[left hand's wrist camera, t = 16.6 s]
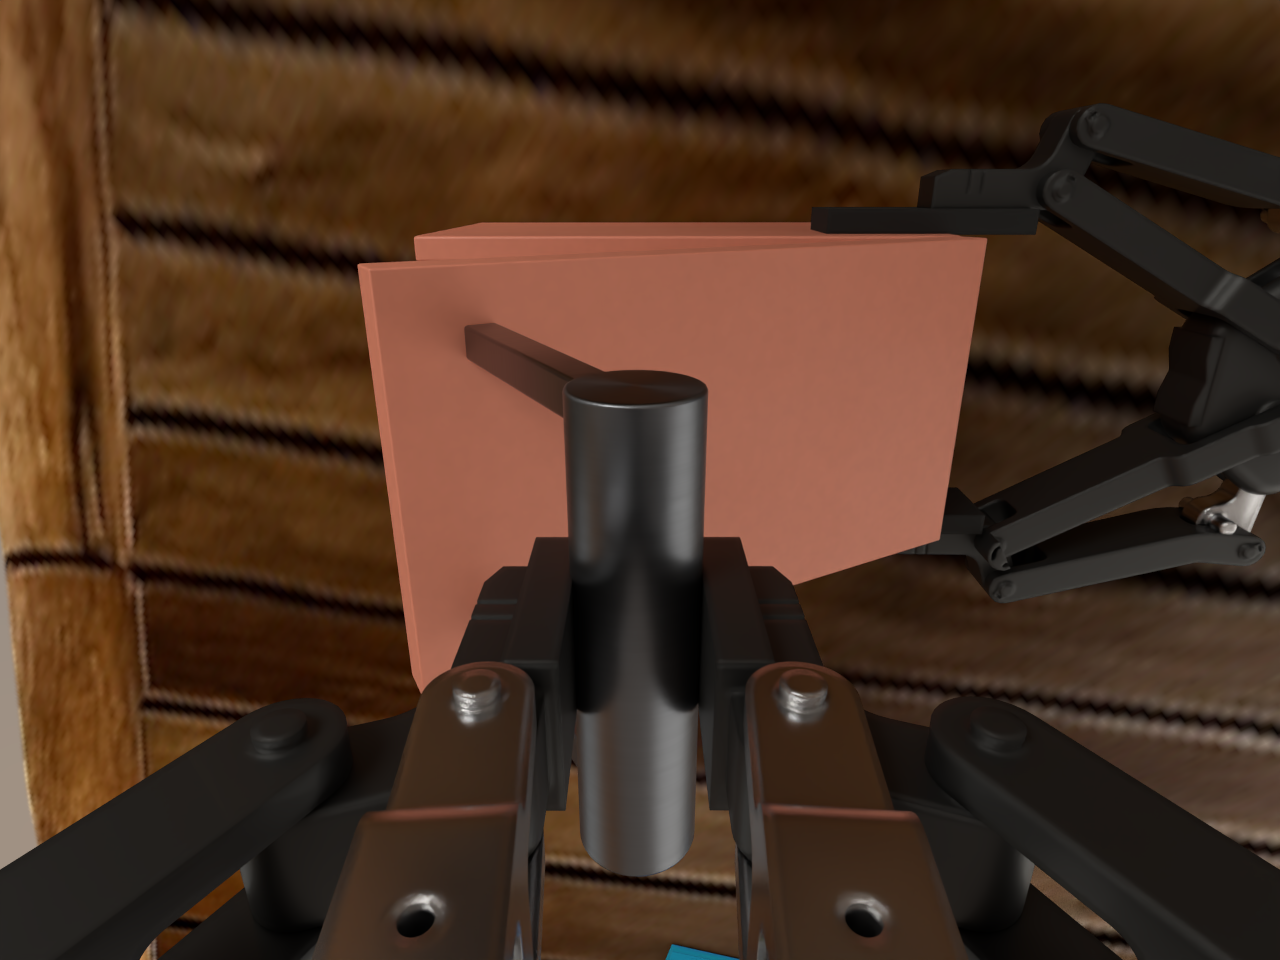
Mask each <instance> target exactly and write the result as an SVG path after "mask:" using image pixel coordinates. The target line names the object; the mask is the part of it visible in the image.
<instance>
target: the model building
mask: <svg viewBox="0 0 1280 960" xmlns="http://www.w3.org/2000/svg"><path fill="white" fill-rule="evenodd" d="M666 960H739V959H736V958H732V957H727V956H723V955H718V954H714V953H709V952H705V951H700V950H696V949H691V948H687V947H682V946H678V945H673V944H672V946H671V948H670V951H669V953H668V955H667V958H666Z"/></svg>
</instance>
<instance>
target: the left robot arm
mask: <svg viewBox="0 0 1280 960" xmlns="http://www.w3.org/2000/svg"><path fill="white" fill-rule="evenodd" d="M698 707H699V716H700V725H701V735H702V744H703V753H704V762H705V771H706V780H707V789H708V799H709V808H710V810H729V814H730V822H731V829H732V834H733V838H734V840H735V842H736V847H735V877H736V899H737V920H738V941H739V960H1122V959H1121V958H1120V957H1119V956H1117V955H1116V954H1115V953H1114V952H1113V951H1111V950H1110V949H1109V948H1108V947H1107V946H1105V945H1104V944H1103V943H1102V942H1101V941H1099V940H1098V939H1097V938H1096V937H1095V936H1093V935H1092V934H1091V933H1090V932H1089V931H1087V930H1086V929H1085V928H1084V927H1083V926H1081V925H1080V924H1079V923H1078V922H1077V921H1075V920H1074V919H1073V918H1072V917H1070V916H1069V915H1068V914H1067V913H1066V912H1064V911H1063V910H1062V909H1061V908H1060V907H1058V906H1057V905H1056V904H1055V903H1054V902H1052V901H1051V900H1050V899H1049V898H1048V897H1046V896H1045V895H1044V894H1043V893H1042V892H1040V891H1039V890H1038V889H1037V888H1036V887H1034V886H1033V885H1032V884H1031V883H1030V881H1031V877H1032V874H1033V870H1034V866H1035V865H1036V866H1037V867H1039V868H1040V869H1041V870H1042V871H1044V872H1045V873H1046V874H1047V875H1049V876H1050V877H1051V878H1052V879H1053V880H1055V881H1056V882H1057V883H1058V884H1060V885H1061V886H1062V887H1063V888H1065V889H1066V890H1067V891H1068V892H1070V893H1071V894H1072V895H1073V896H1075V897H1076V898H1077V899H1078V900H1080V901H1081V902H1082V903H1083V904H1085V905H1086V906H1087V907H1088V908H1090V909H1091V910H1092V911H1093V912H1095V913H1096V914H1097V915H1098V916H1100V917H1101V918H1102V919H1103V920H1104V921H1106V922H1107V923H1108V924H1109V925H1111V926H1112V927H1113V928H1114V929H1115V930H1116V931H1117V932H1118V933H1119V934H1120V935H1121V936H1122V937H1123V938H1124V939H1125V940H1126V942H1127V943H1128V944H1129V945H1130V947H1131V948H1132V950H1133V952H1134V953H1135V955H1136V957H1137V959H1138V960H1280V870H1279V869H1278V868H1276V867H1275V866H1273V865H1271V864H1270V863H1268V862H1267V861H1265V860H1263V859H1262V858H1260V857H1259V856H1257V855H1256V854H1254V853H1252V852H1251V851H1249V850H1248V849H1246V848H1244V847H1243V846H1241V845H1240V844H1238V843H1236V842H1235V841H1233V840H1232V839H1230V838H1228V837H1227V836H1225V835H1224V834H1222V833H1221V832H1219V831H1217V830H1216V829H1214V828H1213V827H1211V826H1209V825H1208V824H1206V823H1205V822H1203V821H1201V820H1200V819H1198V818H1197V817H1195V816H1193V815H1192V814H1190V813H1189V812H1187V811H1185V810H1184V809H1182V808H1181V807H1179V806H1178V805H1176V804H1174V803H1173V802H1171V801H1170V800H1168V799H1166V798H1165V797H1163V796H1162V795H1160V794H1158V793H1157V792H1155V791H1154V790H1152V789H1150V788H1149V787H1147V786H1146V785H1144V784H1143V783H1141V782H1139V781H1138V780H1136V779H1135V778H1133V777H1131V776H1130V775H1128V774H1127V773H1125V772H1123V771H1122V770H1120V769H1119V768H1117V767H1115V766H1114V765H1112V764H1111V763H1109V762H1108V761H1106V760H1104V759H1103V758H1101V757H1100V756H1098V755H1096V754H1095V753H1093V752H1092V751H1090V750H1088V749H1087V748H1085V747H1084V746H1082V745H1080V744H1079V743H1077V742H1076V741H1074V740H1073V739H1071V738H1069V737H1068V736H1066V735H1065V734H1063V733H1061V732H1060V731H1058V730H1057V729H1055V728H1053V727H1052V726H1050V725H1049V724H1047V723H1045V722H1044V721H1042V720H1041V719H1039V718H1037V717H1036V716H1034V715H1033V714H1031V713H1029V712H1027V711H1025V710H1023V709H1021V708H1019V707H1017V706H1014V705H1012V704H1009V703H1006V702H1003V701H999V700H995V699H991V698H984V697H973V696H970V697H958V698H953V699H950V700H947V701H945V702H943V703H941V704H940V705H939V706H938V707H937V708H936V709H935V710H934V712H933V713H932V716H931V722H930V727H925V726H921V725H916V724H911V723H907V722H902V721H898V720H893V719H889V718H885V717H881V716H878V715H875V714H873V713H870V712H867V711H865V710H864V709H863V705H862V702H861V699H860V696H859V694H858V692H857V690H856V689H855V688H854V686H853V685H852V684H851V683H850V682H849V681H848V680H847V679H845V678H844V677H843V676H841V675H840V674H838V673H836V672H834V671H832V670H830V669H827V668H825V667H824V666H823V664H822V661H821V658H820V656H819V653H818V651H817V648H816V645H815V643H814V640H813V637H812V635H811V632H810V629H809V627H808V624H807V621H806V620H805V619H804V613H803V611H802V608H801V605H800V604H799V600H798V598H797V595H796V592H795V590H794V587H793V584H792V582H791V581H790V580H789V579H787V578H786V577H785V576H784V575H783V574H782V573H780V572H779V571H778V570H777V569H776V568H774V567H773V566H748V563H747V560H746V556H745V552H744V549H743V545H742V542H741V539H740V537H704V541H703V573H702V597H701V627H700V657H699V687H698ZM576 715H577V689H576V663H575V636H574V610H573V583H572V578H571V576H570V567H569V543H568V537H536V539H535V542H534V545H533V549H532V552H531V556H530V559H529V562H528V566H503V567H502V568H501V569H499V570H498V571H497V572H496V573H495V574H493V575H492V576H491V577H490V578H489V579H487V580H486V581H485V582H484V584H483V587H482V589H481V592H480V594H479V597H478V599H477V604H476V605H475V607H474V610H473V612H472V615H471V620H469V623H468V625H467V628H466V630H465V633H464V636H463V638H462V641H461V643H460V646H459V649H458V651H457V654H456V656H455V659H454V661H453V664H452V667H451V669H450V670H448V671H446V672H444V673H442V674H440V675H439V676H437V677H436V678H435V679H433V680H432V681H431V682H430V683H429V684H428V685H427V686H426V687H425V689H424V690H423V692H422V694H421V696H420V699H419V702H418V705H417V707H416V708H414V709H412V710H410V711H408V712H405V713H403V714H400V715H397V716H394V717H390V718H387V719H383V720H378V721H373V722H369V723H364V724H360V725H355V726H350V727H347V722H346V717H345V715H344V713H343V711H342V710H341V709H340V708H339V707H338V706H336V705H335V704H333V703H331V702H328V701H325V700H320V699H312V698H301V699H291V700H285V701H281V702H277V703H273V704H271V705H268V706H265V707H262V708H260V709H258V710H256V711H253V712H251V713H250V714H248V715H246V716H244V717H242V718H241V719H239V720H238V721H236V722H235V723H233V724H231V725H230V726H228V727H227V728H225V729H223V730H222V731H220V732H219V733H217V734H215V735H214V736H212V737H211V738H209V739H207V740H206V741H204V742H203V743H201V744H200V745H198V746H196V747H195V748H193V749H192V750H190V751H188V752H187V753H185V754H184V755H182V756H180V757H179V758H177V759H176V760H174V761H172V762H171V763H169V764H168V765H166V766H165V767H163V768H161V769H160V770H158V771H157V772H155V773H153V774H152V775H150V776H149V777H147V778H145V779H144V780H142V781H141V782H139V783H137V784H136V785H134V786H133V787H131V788H129V789H128V790H126V791H125V792H123V793H122V794H120V795H118V796H117V797H115V798H114V799H112V800H110V801H109V802H107V803H106V804H104V805H102V806H101V807H99V808H98V809H96V810H94V811H93V812H91V813H90V814H88V815H87V816H85V817H83V818H82V819H80V820H79V821H77V822H75V823H74V824H72V825H71V826H69V827H67V828H66V829H64V830H63V831H61V832H59V833H58V834H56V835H55V836H53V837H52V838H50V839H48V840H47V841H45V842H44V843H42V844H40V845H39V846H37V847H36V848H34V849H32V850H31V851H29V852H28V853H26V854H24V855H23V856H21V857H20V858H18V859H17V860H15V861H13V862H12V863H10V864H9V865H7V866H5V867H4V868H2V869H1V870H0V960H140V958H141V956H142V954H143V953H144V951H145V950H146V948H147V947H148V946H149V945H150V943H151V942H152V941H153V940H154V939H155V938H156V937H157V936H158V935H159V934H160V933H161V932H162V931H163V930H164V929H166V928H167V927H168V926H169V925H170V924H172V923H173V922H174V921H175V920H177V919H178V918H179V917H180V916H182V915H183V914H184V913H185V912H187V911H188V910H189V909H190V908H192V907H193V906H194V905H195V904H197V903H198V902H199V901H200V900H202V899H203V898H204V897H205V896H207V895H208V894H209V893H210V892H212V891H213V890H214V889H215V888H217V887H218V886H219V885H220V884H222V883H223V882H224V881H225V880H226V879H228V878H229V877H230V876H231V875H233V874H234V873H235V872H236V871H238V870H239V869H240V871H241V875H242V879H243V883H244V888H243V889H242V890H241V891H240V892H238V893H237V894H236V895H235V896H234V897H232V898H231V899H230V900H229V901H228V902H226V903H225V904H224V905H223V906H222V907H220V908H219V909H218V910H217V911H216V912H214V913H213V914H212V915H211V916H209V917H208V918H207V919H206V920H205V921H203V922H202V923H201V924H200V925H199V926H197V927H196V928H195V929H194V930H193V931H191V932H190V933H189V934H188V935H187V936H185V937H184V938H183V939H182V940H181V941H179V942H178V943H177V944H176V945H175V946H173V947H172V948H171V949H170V950H169V951H167V952H166V953H165V954H164V955H163V956H161V957H160V958H159V959H158V960H541V940H542V918H543V897H544V875H545V848H544V832H543V827H544V820H545V813H546V811H565V809H566V801H567V792H568V784H569V775H570V766H571V758H572V749H573V741H574V732H575V724H576Z"/></svg>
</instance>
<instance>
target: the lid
mask: <svg viewBox="0 0 1280 960" xmlns="http://www.w3.org/2000/svg"><path fill="white" fill-rule="evenodd" d="M986 244H987V239H986V238H978V237H962V236H948V237H926V238H904V239H883V240H861V241H839V242H818V243H796V244H775V245H753V246H731V247H710V248H688V249H666V250H645V251H623V252H602V253H580V254H558V255H537V256H515V257H493V258H472V259H450V260H429V261H407V262H385V263H364V264H358V272H359V280H360V287H361V295H362V302H363V310H364V317H365V324H366V332H367V339H368V347H369V354H370V362H371V369H372V377H373V384H374V391H375V399H376V406H377V414H378V421H379V429H380V436H381V444H382V451H383V458H384V466H385V473H386V481H387V488H388V496H389V503H390V511H391V518H392V525H393V533H394V540H395V548H396V555H397V563H398V570H399V578H400V585H401V592H402V600H403V607H404V615H405V622H406V630H407V637H408V645H409V652H410V659H411V667H412V674H413V677H414V679H415V681H416V683H417V685H418V688H419V690H420V692H421V694H422V692H423V690H424V689H425V687H426V686H427V685H428V684H429V683H430V682H431V681H432V680H433V679H435V678H436V677H437V676H439V675H440V674H442V673H444V672H446V671H448V670H450V669H451V667H452V664H453V661H454V659H455V656H456V654H457V651H458V649H459V646H460V643H461V641H462V638H463V636H464V633H465V630H466V628H467V625H468V623H469V620H471V615H472V612H473V610H474V607H475V605H476V604H477V599H478V597H479V594H480V592H481V589H482V587H483V584H484V582H485V581H486V580H487V579H489V578H490V577H491V576H492V575H493V574H495V573H496V572H497V571H498V570H499V569H501V568H502V567H503V566H528V562H529V559H530V556H531V552H532V549H533V545H534V542H535V539H536V537H568V543H569V567H570V576H571V578H572V583H573V610H574V636H575V663H576V689H577V715H576V724H575V732H574V741H573V749H572V759H573V761H574V762H575V764H576V765H577V767H578V788H579V813H580V834H581V839H582V843H583V845H584V847H585V849H586V851H587V852H588V854H589V855H590V856H591V858H592V859H593V860H594V861H595V862H597V863H598V864H599V865H600V866H602V867H604V868H605V869H607V870H609V871H612V872H614V873H617V874H621V875H626V876H648V875H653V874H657V873H660V872H662V871H665V870H667V869H669V868H671V867H672V866H674V865H675V864H676V863H678V862H679V861H680V860H681V859H682V858H683V857H684V855H685V854H686V853H687V851H688V850H689V848H690V846H691V844H692V841H693V837H694V823H695V792H696V760H697V729H698V687H699V657H700V627H701V597H702V573H703V541H704V537H740V539H741V542H742V545H743V549H744V552H745V556H746V560H747V563H748V566H773V567H774V568H776V569H777V570H778V571H779V572H780V573H782V574H783V575H784V576H785V577H786V578H787V579H789V580H790V581H791V582H792V584H793V585H796V584H799V583H802V582H806V581H809V580H812V579H815V578H818V577H822V576H825V575H828V574H831V573H834V572H838V571H841V570H844V569H847V568H851V567H854V566H857V565H860V564H863V563H867V562H870V561H873V560H876V559H879V558H883V557H886V556H889V555H892V554H896V553H899V552H902V551H905V550H908V549H912V548H915V547H918V546H921V545H924V544H928V543H931V542H934V541H937V540H939V539H940V534H941V527H942V521H943V515H944V509H945V502H946V496H947V490H948V483H949V477H950V471H951V465H952V458H953V452H954V446H955V439H956V433H957V427H958V421H959V414H960V408H961V402H962V395H963V389H964V383H965V376H966V370H967V364H968V358H969V351H970V345H971V339H972V332H973V326H974V320H975V314H976V307H977V301H978V295H979V288H980V282H981V276H982V270H983V263H984V257H985V251H986Z"/></svg>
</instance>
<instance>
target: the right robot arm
mask: <svg viewBox="0 0 1280 960" xmlns="http://www.w3.org/2000/svg"><path fill="white" fill-rule="evenodd" d="M1039 135H1040V143H1039V144H1038V146H1037V148H1036V150H1035V152H1034V154H1033V155H1032V157H1031V159H1030V160H1029V161H1028V162H1027V163H1026V164H1024V165H1023V166H1021V167H1019V168H1017V169H948V170H936V171H934V172H932V173H929V174H927V175H924V176H922V177H921V180H920V188H919V196H918V204H917V207H812V216H811V228H810V229H811V230H814V231H818V232H821V233H825V234H953V235H1036V229H1037V224H1038V221H1039V222H1041V223H1043V224H1044V225H1046V226H1047V227H1049V228H1050V229H1052V230H1053V231H1055V232H1057V233H1058V234H1060V235H1061V236H1063V237H1064V238H1066V239H1067V240H1069V241H1071V242H1072V243H1074V244H1075V245H1077V246H1078V247H1080V248H1081V249H1083V250H1085V251H1086V252H1088V253H1089V254H1091V255H1092V256H1094V257H1096V258H1097V259H1099V260H1100V261H1102V262H1103V263H1105V264H1106V265H1108V266H1110V267H1111V268H1113V269H1114V270H1116V271H1117V272H1119V273H1120V274H1122V275H1124V276H1125V277H1127V278H1128V279H1130V280H1131V281H1133V282H1134V283H1136V284H1138V285H1139V286H1141V287H1142V288H1144V289H1145V290H1147V291H1149V292H1150V293H1152V294H1153V295H1154V296H1155V297H1154V298H1155V299H1156V300H1157V301H1158V302H1160V303H1162V304H1163V305H1165V306H1166V307H1168V308H1169V309H1171V310H1172V311H1174V312H1176V313H1177V314H1179V315H1180V316H1182V317H1183V318H1185V319H1186V321H1185V323H1184V324H1183V326H1182V327H1174V330H1173V334H1172V337H1171V341H1170V345H1169V371H1168V373H1167V375H1166V377H1165V379H1164V381H1163V382H1162V384H1161V386H1160V388H1159V390H1158V393H1157V397H1156V401H1155V405H1154V408H1153V411H1154V412H1157V413H1155V414H1152V415H1150V416H1148V417H1146V418H1144V419H1142V420H1139V421H1137V422H1135V423H1133V424H1131V425H1129V426H1127V427H1125V428H1124V429H1123V430H1122V433H1121V436H1120V437H1118V438H1116V439H1114V440H1112V441H1110V442H1108V443H1105V444H1103V445H1101V446H1099V447H1097V448H1094V449H1092V450H1090V451H1088V452H1086V453H1083V454H1081V455H1079V456H1077V457H1075V458H1072V459H1070V460H1068V461H1066V462H1064V463H1062V464H1059V465H1057V466H1055V467H1053V468H1051V469H1048V470H1046V471H1044V472H1042V473H1040V474H1037V475H1035V476H1033V477H1031V478H1029V479H1027V480H1024V481H1022V482H1020V483H1018V484H1016V485H1013V486H1011V487H1009V488H1007V489H1005V490H1002V491H1000V492H998V493H996V494H994V495H991V496H989V497H987V498H985V499H983V500H981V501H978V502H976V503H974V504H973V503H972V502H971V501H970V500H969V499H968V498H967V497H966V496H965V495H964V494H963V493H962V492H961V491H960V490H959V489H958V488H948V490H947V496H946V502H945V509H944V515H943V521H942V527H941V534H940V539H939V540H937V541H934V542H931V543H928V544H924V545H921V546H918V547H915V548H912V549H908V550H905V551H902V552H899V553H898V554H956V555H966V558H965V565H966V568H967V569H968V570H969V571H970V573H971V574H972V575H973V576H974V578H975V579H976V580H977V581H978V582H979V584H980V585H981V586H982V587H983V589H984V590H985V591H986V592H987V593H988V595H989V596H990V597H991V598H992V599H993V600H994V601H995V602H999V603H1009V602H1013V601H1018V600H1023V599H1027V598H1032V597H1037V596H1041V595H1046V594H1051V593H1055V592H1060V591H1065V590H1069V589H1074V588H1079V587H1083V586H1088V585H1093V584H1098V583H1102V582H1107V581H1112V580H1116V579H1121V578H1126V577H1130V576H1135V575H1140V574H1144V573H1149V572H1154V571H1158V570H1163V569H1168V568H1172V567H1177V566H1182V565H1186V564H1191V563H1196V562H1201V563H1213V564H1225V565H1236V566H1248V565H1251V564H1254V563H1256V562H1257V561H1258V560H1259V559H1261V557H1262V556H1263V554H1264V553H1265V548H1266V546H1265V543H1264V541H1263V540H1262V539H1261V538H1259V537H1257V536H1256V535H1254V534H1252V533H1250V532H1251V529H1252V527H1253V524H1254V522H1255V519H1256V517H1257V515H1258V512H1259V510H1260V507H1261V505H1262V503H1263V500H1264V498H1265V496H1266V495H1270V494H1275V493H1278V492H1280V258H1279V259H1277V260H1275V261H1274V262H1272V263H1270V264H1269V265H1267V266H1265V267H1264V268H1262V269H1260V270H1259V271H1257V272H1256V273H1254V274H1252V275H1251V276H1249V277H1247V278H1243V277H1241V276H1238V275H1235V274H1233V273H1230V272H1228V271H1226V270H1225V269H1223V268H1222V267H1220V266H1219V265H1217V264H1216V263H1214V262H1213V261H1211V260H1209V259H1208V258H1206V257H1205V256H1203V255H1202V254H1200V253H1199V252H1197V251H1196V250H1194V249H1193V248H1191V247H1190V246H1188V245H1187V244H1185V243H1184V242H1182V241H1181V240H1179V239H1178V238H1176V237H1175V236H1173V235H1172V234H1170V233H1169V232H1167V231H1166V230H1164V229H1163V228H1161V227H1160V226H1158V225H1157V224H1155V223H1154V222H1152V221H1150V220H1149V219H1147V218H1146V217H1144V216H1143V215H1141V214H1140V213H1138V212H1137V211H1135V210H1134V209H1132V208H1131V207H1129V206H1128V205H1126V204H1125V203H1123V202H1122V201H1120V200H1119V199H1117V198H1116V197H1114V196H1113V195H1111V194H1110V193H1108V192H1107V191H1105V190H1104V189H1102V188H1101V187H1099V186H1098V185H1096V184H1095V183H1093V182H1091V181H1090V180H1088V179H1087V178H1085V177H1084V174H1085V173H1086V171H1087V169H1088V167H1089V165H1090V163H1092V164H1095V165H1099V166H1102V167H1105V168H1109V169H1112V170H1115V171H1118V172H1122V173H1125V174H1128V175H1131V176H1135V177H1138V178H1141V179H1145V180H1148V181H1151V182H1154V183H1158V184H1161V185H1164V186H1168V187H1171V188H1174V189H1177V190H1181V191H1184V192H1187V193H1190V194H1194V195H1197V196H1200V197H1204V198H1207V199H1210V200H1213V201H1217V202H1220V203H1223V204H1227V205H1232V206H1236V207H1245V208H1264V209H1263V210H1262V212H1261V220H1262V221H1263V222H1265V223H1267V224H1268V227H1269V228H1270V229H1271V230H1272V231H1274V232H1276V233H1280V158H1279V157H1276V156H1273V155H1270V154H1266V153H1263V152H1260V151H1257V150H1254V149H1250V148H1247V147H1244V146H1241V145H1238V144H1234V143H1231V142H1228V141H1225V140H1222V139H1218V138H1215V137H1212V136H1209V135H1206V134H1202V133H1199V132H1196V131H1193V130H1190V129H1186V128H1183V127H1180V126H1177V125H1174V124H1170V123H1167V122H1164V121H1161V120H1158V119H1154V118H1151V117H1148V116H1145V115H1142V114H1138V113H1135V112H1132V111H1129V110H1126V109H1122V108H1119V107H1116V106H1113V105H1109V104H1102V103H1099V104H1094V105H1089V106H1084V107H1079V108H1073V109H1068V110H1063V111H1059V112H1056V113H1053V114H1051V115H1050V116H1049V117H1048V118H1046V119H1045V121H1044V122H1043V124H1042V126H1041V129H1040V133H1039ZM1214 475H1217V476H1218V477H1219V478H1220V479H1222V480H1223V482H1222V484H1221V486H1220V487H1219V488H1218V490H1217V491H1215V492H1214V493H1212V494H1210V495H1208V496H1202V497H1197V498H1194V499H1193V498H1192V497H1185V498H1183V499H1182V500H1181V501H1180V502H1179V508H1175V507H1164V508H1153V509H1147V510H1142V511H1137V512H1133V513H1129V514H1124V515H1120V516H1115V517H1111V518H1106V519H1102V520H1097V521H1093V522H1088V521H1090V520H1093V519H1095V518H1097V517H1099V516H1102V515H1104V514H1106V513H1108V512H1111V511H1113V510H1115V509H1118V508H1120V507H1122V506H1124V505H1127V504H1129V503H1131V502H1134V501H1136V500H1138V499H1140V498H1143V497H1145V496H1147V495H1150V494H1152V493H1154V492H1156V491H1159V490H1161V489H1163V488H1166V487H1169V486H1189V485H1193V484H1196V483H1198V482H1201V481H1203V480H1205V479H1207V478H1210V477H1212V476H1214ZM1086 522H1088V523H1086ZM1083 523H1084V524H1083Z"/></svg>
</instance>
